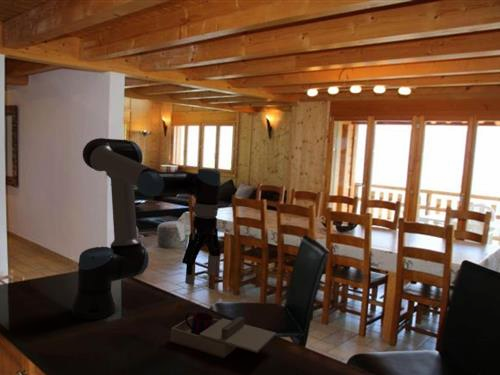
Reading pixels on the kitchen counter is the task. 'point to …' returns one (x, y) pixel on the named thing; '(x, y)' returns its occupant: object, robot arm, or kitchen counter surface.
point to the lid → (238, 334)
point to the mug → (199, 322)
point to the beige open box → (199, 340)
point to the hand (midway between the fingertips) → (200, 279)
